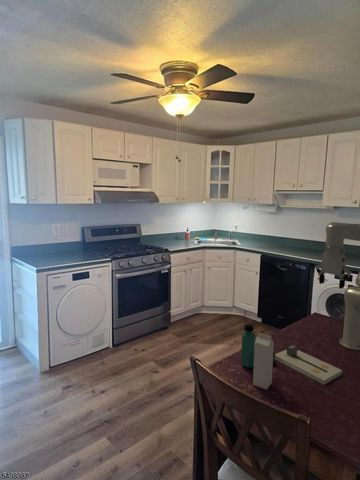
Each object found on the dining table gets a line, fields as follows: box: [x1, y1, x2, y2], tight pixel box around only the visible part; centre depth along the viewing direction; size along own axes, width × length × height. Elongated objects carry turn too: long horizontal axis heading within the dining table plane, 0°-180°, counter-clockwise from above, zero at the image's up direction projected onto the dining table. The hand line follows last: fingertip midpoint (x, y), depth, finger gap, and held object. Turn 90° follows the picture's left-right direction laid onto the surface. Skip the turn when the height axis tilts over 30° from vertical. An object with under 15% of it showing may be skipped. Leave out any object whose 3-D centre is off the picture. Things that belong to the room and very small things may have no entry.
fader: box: [286, 344, 298, 356], centre depth 152 cm, size 4×3×4 cm
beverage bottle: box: [240, 323, 257, 368], centre depth 144 cm, size 6×7×20 cm
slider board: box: [273, 349, 343, 386], centre depth 146 cm, size 14×26×2 cm, turn 35°
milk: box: [252, 332, 275, 391], centre depth 130 cm, size 6×6×22 cm
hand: (331, 285), depth 149 cm, fingers open, 9 cm apart
